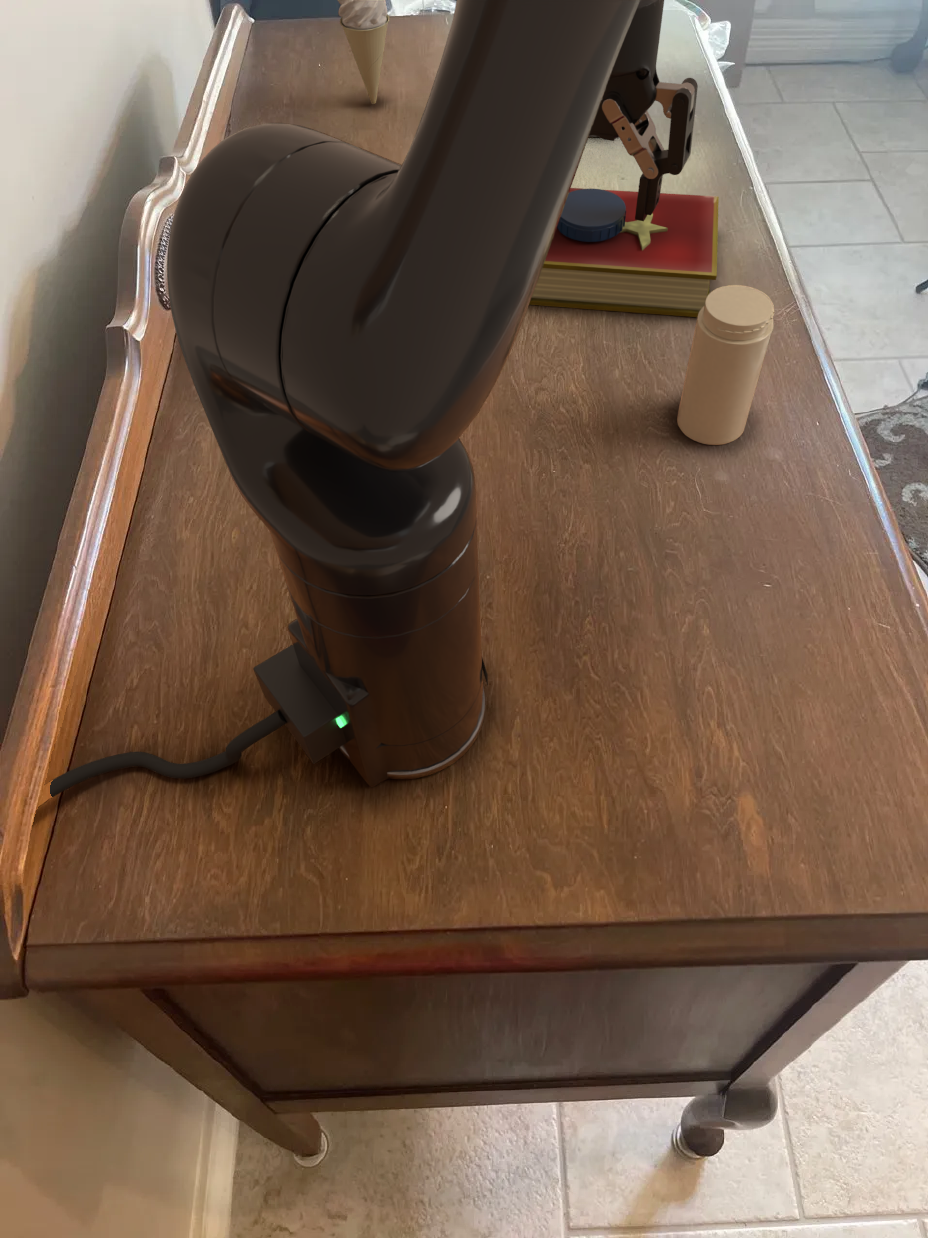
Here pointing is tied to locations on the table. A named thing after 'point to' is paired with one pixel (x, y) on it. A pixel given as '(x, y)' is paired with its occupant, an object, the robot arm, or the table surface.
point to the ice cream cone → (366, 37)
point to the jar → (725, 364)
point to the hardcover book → (638, 261)
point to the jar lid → (592, 215)
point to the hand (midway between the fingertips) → (592, 206)
